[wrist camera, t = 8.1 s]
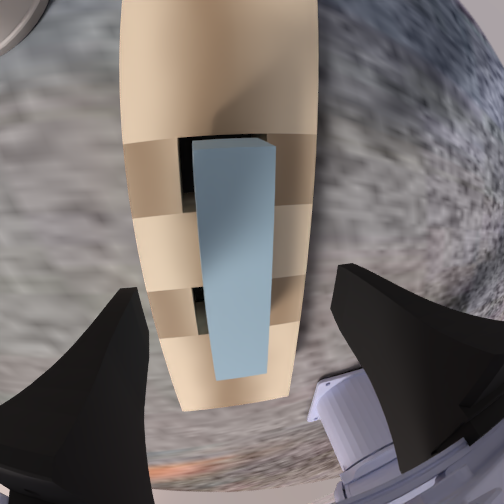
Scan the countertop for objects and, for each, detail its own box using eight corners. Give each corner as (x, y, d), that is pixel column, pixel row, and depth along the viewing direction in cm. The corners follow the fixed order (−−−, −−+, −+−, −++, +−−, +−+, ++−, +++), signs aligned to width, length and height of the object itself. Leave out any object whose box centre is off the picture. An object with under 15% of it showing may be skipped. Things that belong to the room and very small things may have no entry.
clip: (239, 129, 14) (275, 146, 8) (242, 295, 18) (266, 373, 13) (191, 132, 13) (193, 149, 8) (204, 299, 18) (216, 380, 13)
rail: (293, -6, 10) (316, -25, 8) (277, 367, 23) (288, 395, 20) (135, -6, 9) (125, -28, 6) (180, 380, 21) (182, 411, 19)
